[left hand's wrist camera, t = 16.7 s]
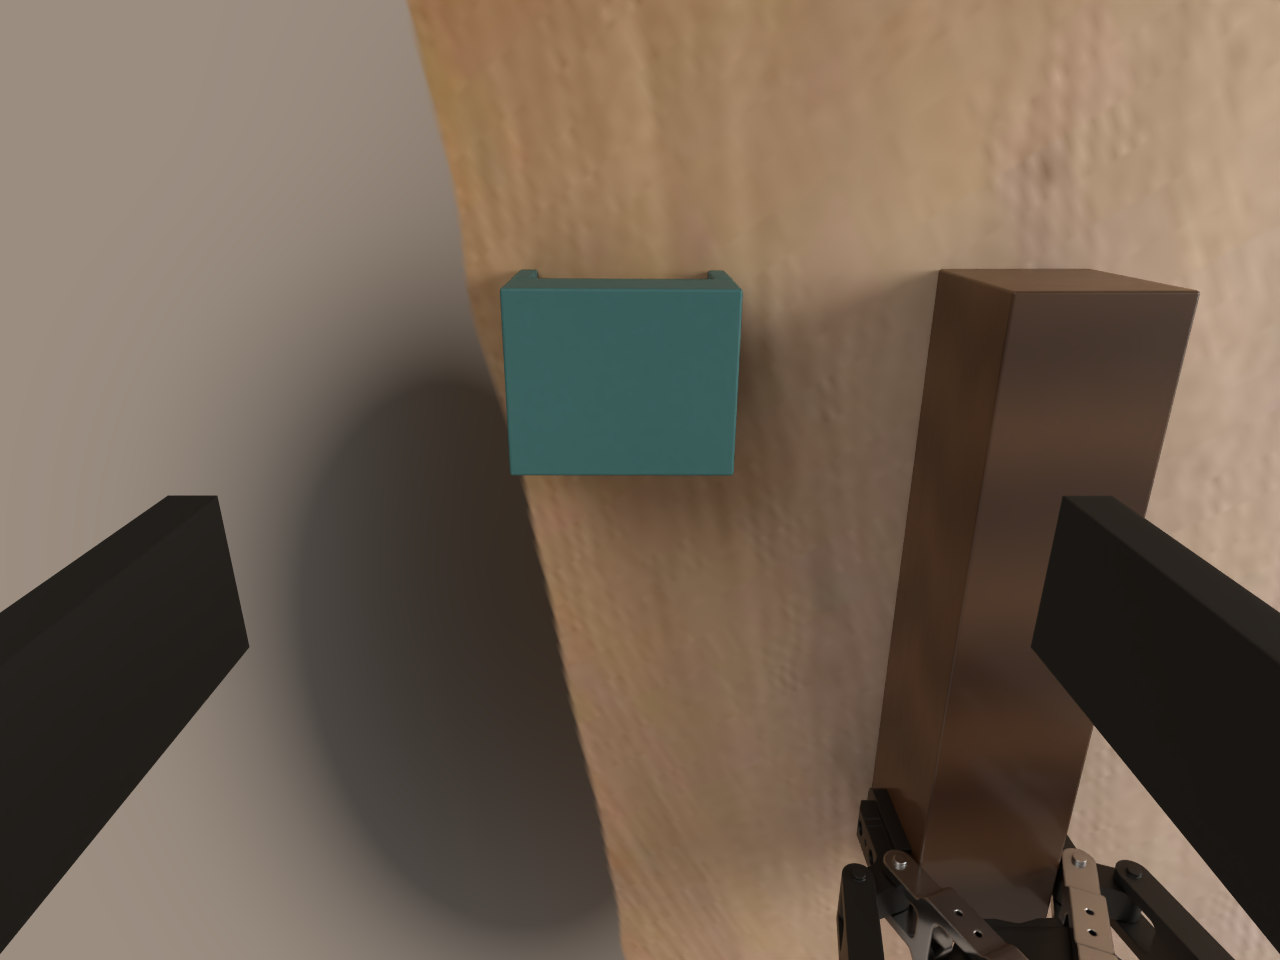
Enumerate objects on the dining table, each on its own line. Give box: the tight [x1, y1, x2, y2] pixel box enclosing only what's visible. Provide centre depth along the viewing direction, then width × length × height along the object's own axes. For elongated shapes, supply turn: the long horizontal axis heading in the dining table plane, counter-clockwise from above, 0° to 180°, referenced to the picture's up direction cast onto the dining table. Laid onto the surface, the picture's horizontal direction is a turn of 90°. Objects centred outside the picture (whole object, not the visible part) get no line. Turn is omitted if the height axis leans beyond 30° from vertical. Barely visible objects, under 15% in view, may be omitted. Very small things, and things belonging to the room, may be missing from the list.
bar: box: [872, 269, 1200, 942], centre depth 30 cm, size 26×6×6 cm, turn 0°
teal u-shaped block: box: [500, 270, 743, 475], centre depth 27 cm, size 6×7×5 cm
